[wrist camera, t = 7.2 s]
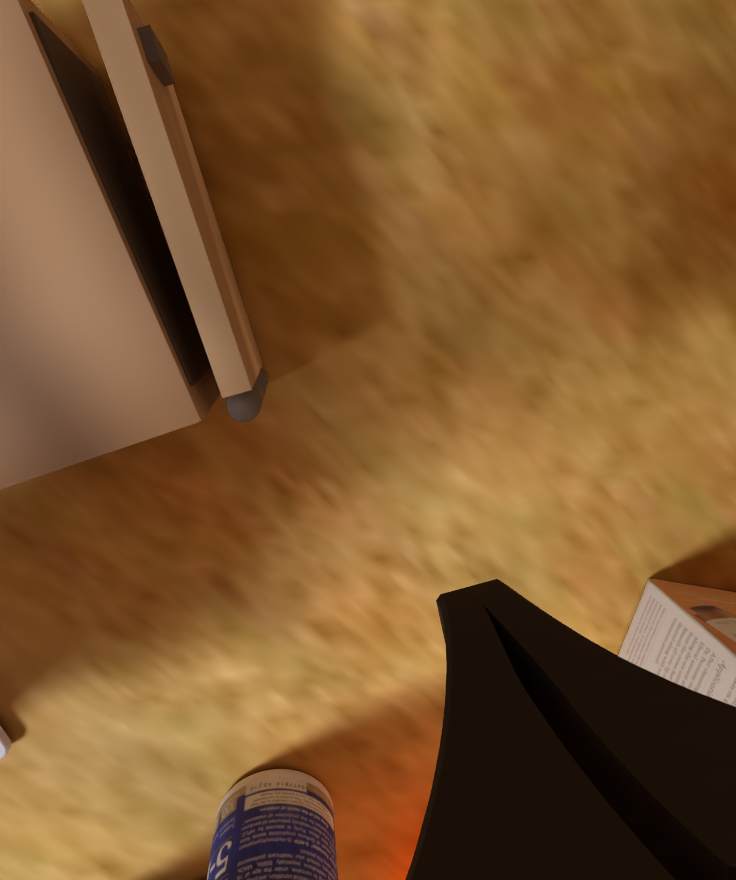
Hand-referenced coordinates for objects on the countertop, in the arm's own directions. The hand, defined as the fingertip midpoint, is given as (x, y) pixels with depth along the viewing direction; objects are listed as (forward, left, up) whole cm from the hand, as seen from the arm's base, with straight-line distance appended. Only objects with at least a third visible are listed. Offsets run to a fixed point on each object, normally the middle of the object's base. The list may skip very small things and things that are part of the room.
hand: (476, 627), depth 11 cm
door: (-3, +10, -10) cm, 14 cm away
